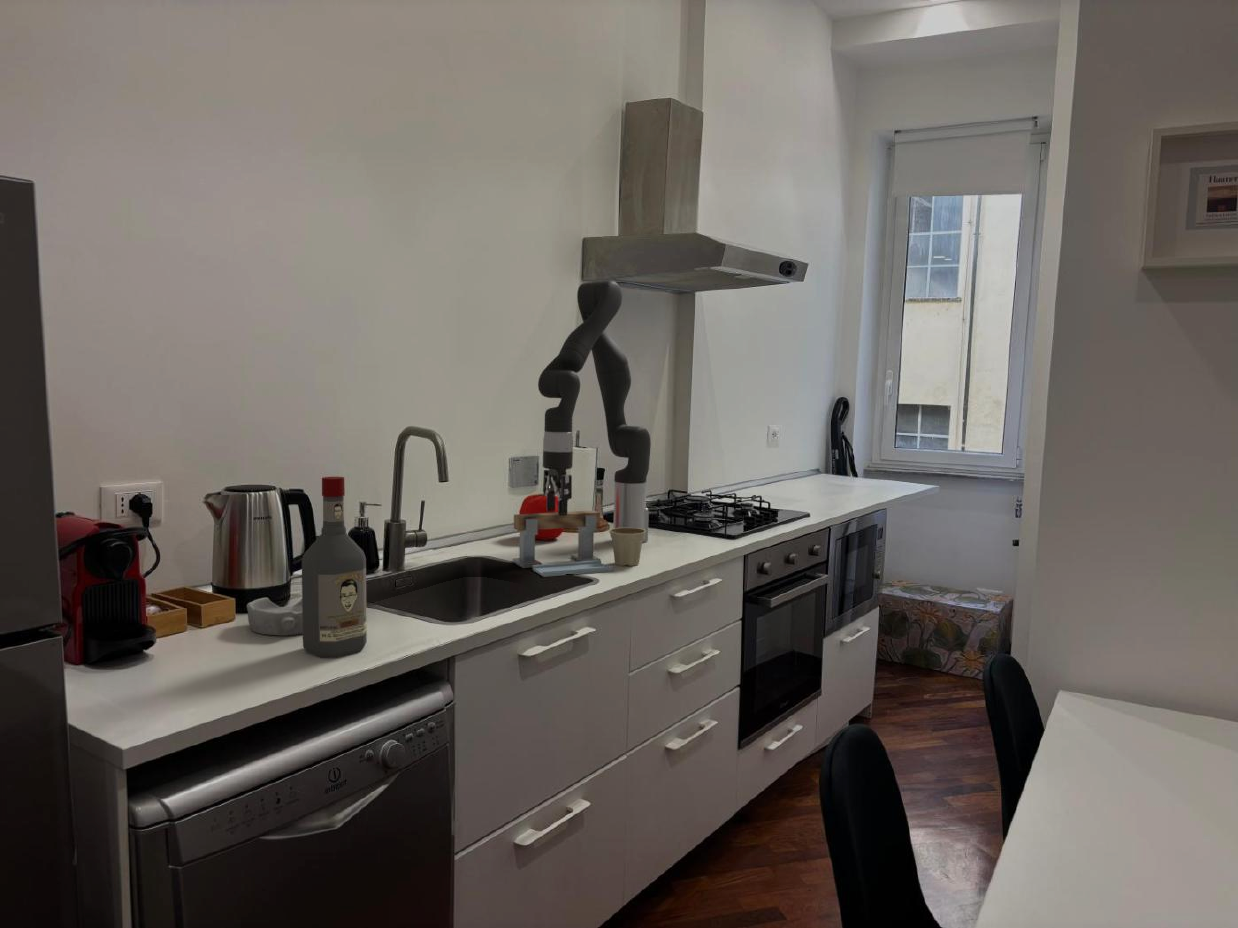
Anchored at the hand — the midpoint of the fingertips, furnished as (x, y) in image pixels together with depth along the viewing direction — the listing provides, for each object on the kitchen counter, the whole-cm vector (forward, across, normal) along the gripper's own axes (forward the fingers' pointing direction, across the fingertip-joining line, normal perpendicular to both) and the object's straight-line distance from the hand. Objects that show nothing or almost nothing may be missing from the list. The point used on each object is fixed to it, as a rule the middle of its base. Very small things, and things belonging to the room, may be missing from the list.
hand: (556, 513), depth 233 cm
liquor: (+14, -55, +62) cm, 84 cm away
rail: (+4, 0, 0) cm, 4 cm away
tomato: (+13, +32, -8) cm, 35 cm away
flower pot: (+13, -8, -16) cm, 22 cm away
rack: (+13, 0, 0) cm, 13 cm away
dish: (+14, -38, +68) cm, 79 cm away
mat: (+13, -11, 0) cm, 17 cm away
